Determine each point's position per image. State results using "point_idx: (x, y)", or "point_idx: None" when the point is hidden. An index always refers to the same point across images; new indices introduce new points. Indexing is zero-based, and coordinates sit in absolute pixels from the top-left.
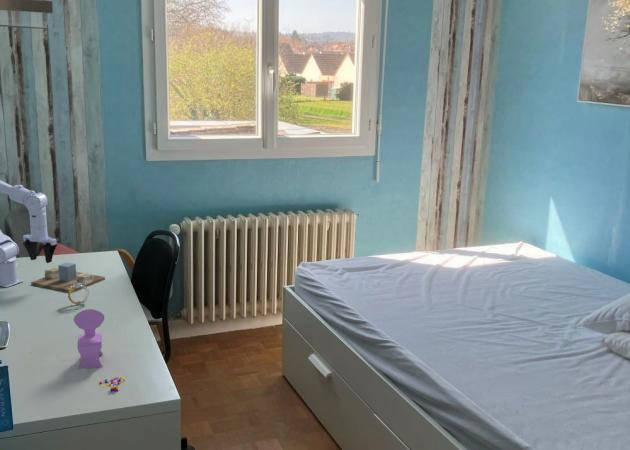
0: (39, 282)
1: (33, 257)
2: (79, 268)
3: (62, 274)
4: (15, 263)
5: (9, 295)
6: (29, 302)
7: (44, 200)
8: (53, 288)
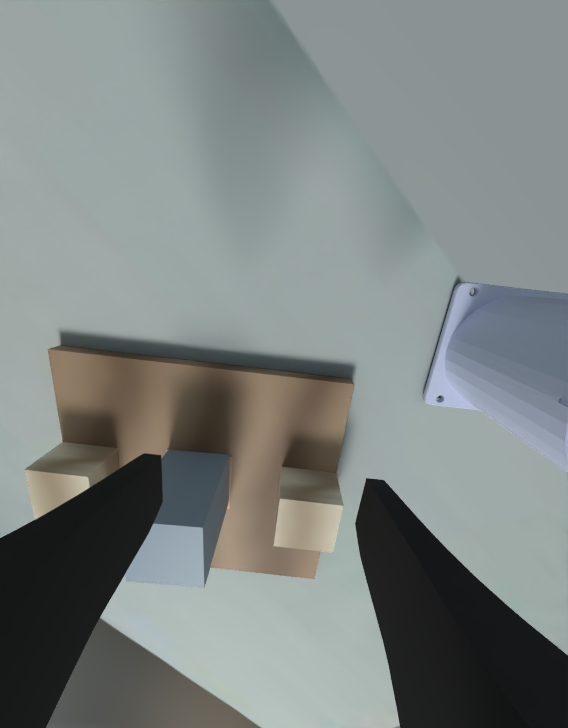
0: (305, 395)
1: (368, 516)
2: (292, 612)
3: (192, 478)
4: (544, 437)
5: (348, 163)
6: (130, 91)
7: None
8: (186, 361)
